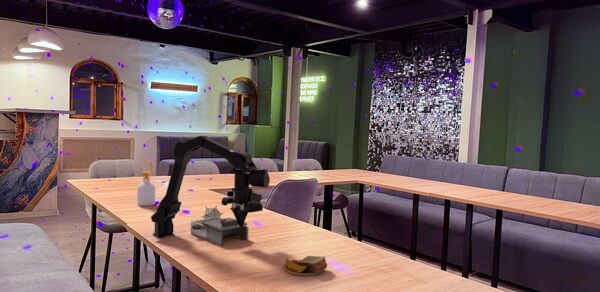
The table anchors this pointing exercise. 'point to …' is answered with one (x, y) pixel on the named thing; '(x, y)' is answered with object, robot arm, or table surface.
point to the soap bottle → (146, 190)
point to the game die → (211, 213)
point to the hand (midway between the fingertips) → (241, 226)
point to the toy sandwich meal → (306, 266)
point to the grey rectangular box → (216, 231)
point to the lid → (222, 224)
